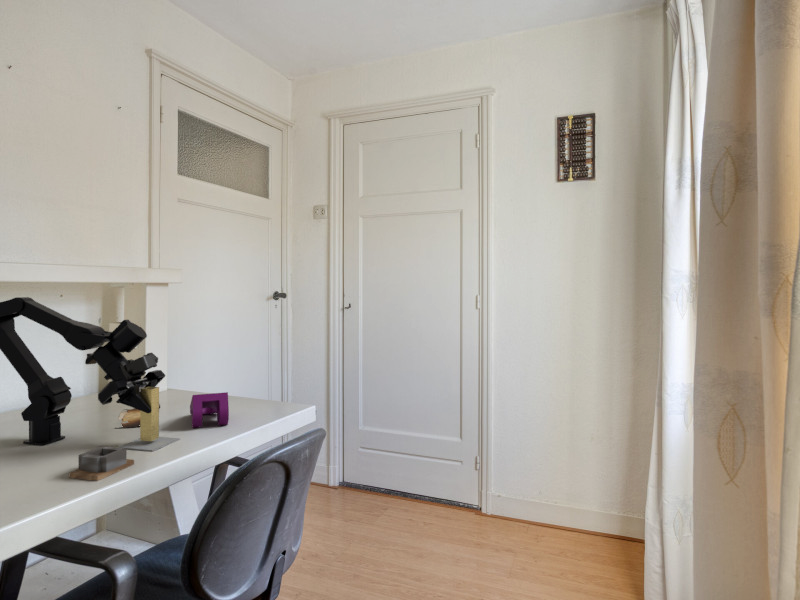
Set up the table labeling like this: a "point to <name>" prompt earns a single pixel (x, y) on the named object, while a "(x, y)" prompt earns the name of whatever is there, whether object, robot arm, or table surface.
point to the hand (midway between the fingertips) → (154, 410)
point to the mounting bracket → (209, 408)
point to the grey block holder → (101, 463)
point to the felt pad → (149, 444)
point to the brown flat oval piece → (130, 418)
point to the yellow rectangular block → (150, 415)
